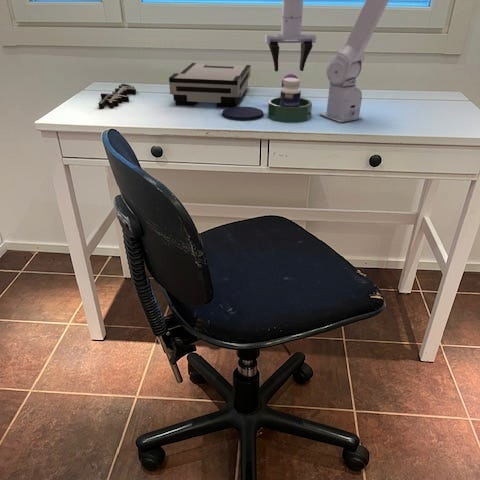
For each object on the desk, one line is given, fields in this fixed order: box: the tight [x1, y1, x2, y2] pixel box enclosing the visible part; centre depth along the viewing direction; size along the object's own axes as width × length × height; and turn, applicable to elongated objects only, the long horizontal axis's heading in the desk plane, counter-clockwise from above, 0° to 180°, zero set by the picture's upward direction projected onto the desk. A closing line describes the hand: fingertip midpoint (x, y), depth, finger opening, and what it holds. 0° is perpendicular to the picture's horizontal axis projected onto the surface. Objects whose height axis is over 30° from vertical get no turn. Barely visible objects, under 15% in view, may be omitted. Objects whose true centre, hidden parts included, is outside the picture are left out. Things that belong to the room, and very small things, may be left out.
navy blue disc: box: [221, 106, 265, 122], centre depth 143 cm, size 12×12×1 cm
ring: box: [267, 96, 313, 123], centre depth 141 cm, size 12×12×4 cm
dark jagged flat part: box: [97, 83, 137, 110], centre depth 158 cm, size 27×2×10 cm
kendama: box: [281, 73, 299, 88], centre depth 158 cm, size 6×6×20 cm
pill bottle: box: [279, 77, 302, 107], centre depth 140 cm, size 6×6×10 cm
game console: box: [168, 62, 252, 109], centre depth 159 cm, size 21×32×8 cm, turn 172°
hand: (288, 70), depth 145 cm, fingers open, 7 cm apart
